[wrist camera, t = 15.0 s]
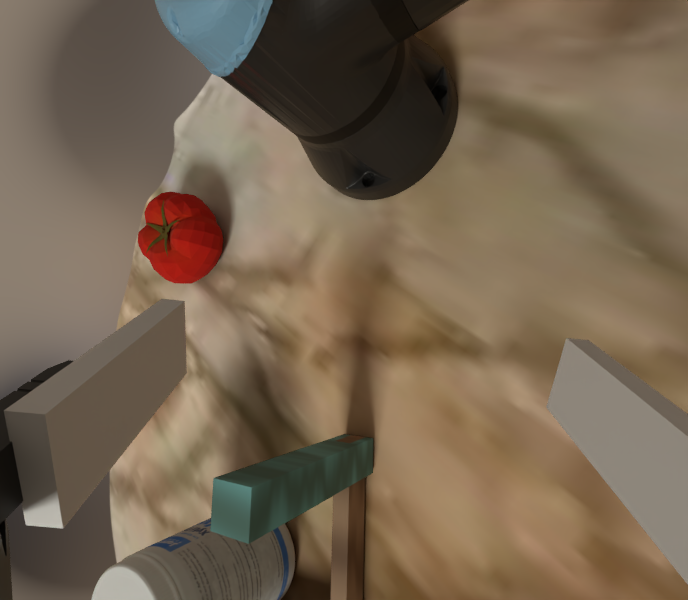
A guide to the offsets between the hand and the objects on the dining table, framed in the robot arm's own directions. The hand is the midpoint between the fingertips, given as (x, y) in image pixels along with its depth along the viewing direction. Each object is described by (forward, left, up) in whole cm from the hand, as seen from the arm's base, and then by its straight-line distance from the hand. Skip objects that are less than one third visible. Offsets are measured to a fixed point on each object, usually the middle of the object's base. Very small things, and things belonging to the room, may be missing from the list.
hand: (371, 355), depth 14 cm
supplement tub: (-2, -30, -22) cm, 38 cm away
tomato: (-34, -15, -22) cm, 43 cm away
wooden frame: (-2, -26, -22) cm, 34 cm away
